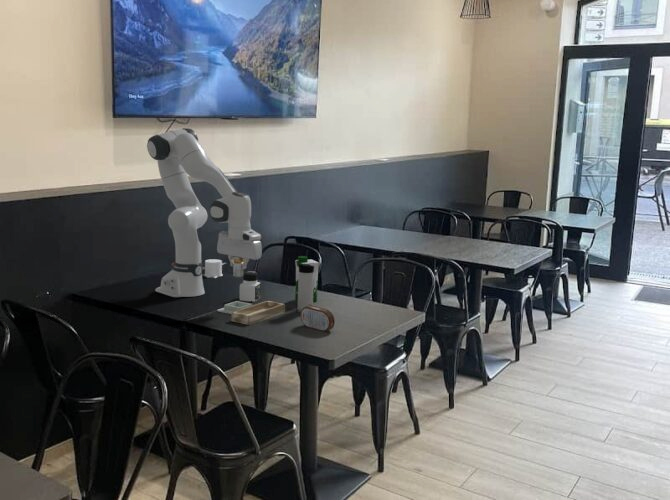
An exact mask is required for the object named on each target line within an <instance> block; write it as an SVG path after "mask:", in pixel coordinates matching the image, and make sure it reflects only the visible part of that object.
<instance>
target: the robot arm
mask: <svg viewBox="0 0 670 500" xmlns="http://www.w3.org/2000/svg"><path fill="white" fill-rule="evenodd" d="M146 148H147V149H146V150H147V151H148V154H149V156H150V157H151V159H153V160H155V161H157V166H158V171H159V175H160V178H161V182H162V184H163V187H164V191H165V194H166V196H167V198H168V199H169V200H171V202H172V203H173V205H174V206H175V209H174V210H173V211H172V212H171V213H170V214H169V215H168V218H167V223H168V226H169V228H170V229H171V230H172V235H173V239H174V244H175V261H174V262H171V263H170V264H171V265H170V266H171V267H172V269H171V270H170V271H168V273H166V274H165V275H164V276H163V277H162V278H161V279H160V280H161V281H160V286H159V287H156V288H155V289H154V290H155V291H154V292H156V293H159V294H163V295H165V296H169V297H172V298H181V297H182V298H183V297H184V298H185V297H187V298H188V297H189V298H190V297H198V296H202V295H204V294H206V292H205V288H204V281H203V274H202V271H203V261H202V244H201V241H200V240H199V237H198V229H199V228H202V227H203V225H205V223H206V222H207V221H208V216H209V217H210V219H211V221H212V222H214V223H219V224H222V223H223V224H224V223H225V224H226V223H227V224H228V229H227V231H226V230H221V231H220V232H219V233H218V239H217V243H216V244H217V246H216V251H217V253H218V254H221V255H224V256H225V255H227V257H228V260H229V262H230V267H232V268H233V265H234V263H233V260H234V256H237V257H242V258H243V260H244V263H243V264H241V268H243V270H245V269H247V265H248V262H249V261H250V260H253V261H254V260H255V261H256V260H259V259H261V257H262V255H263V253H262V252H263V249H262V248H263V247H262V245H263V244H262V242H261V241H260V240H262V234H260V233H259V232H258V231H255V230H254V229H252V227H251V226H252V225H251V217H252V202H251V198H250V195H248V194H247V193H244V192H241V191H240V192H239V191H237V190H236V188H235V187H234V186H233V185H232V183H231V182H230V181H229V179H228V177H227V176H226V175H225V174H224V172H223V171H222V170H221V169H220V168H219V167H218V166H217V165H216V164H215V163H214V162H213V161H212V160H211V158H210V157H209V156H208V154H207V152H206V151H205V150H204V148H203V146H202V145H201V143H200V142H199V138H198V134H197V133H196V132H195V130H193V129H192V128H188V127H187V128H185V127H184V128H181V129H172V130H169V131H166V132H162V133H160V134H154V135H152V136H150V137H149V138H148V140H147V143H146ZM189 177H190V178H192V179H195V180H199V181H202V182H204V183H205V182H206V183H208V184H210V185H212V186H213V187H214V188H215V189H216V190H217V192H218V194H220V196H221V197H222V198H219V199H214V200H212V201H211V202H210V204H209V207H208V211H207V210H206V208H205V207H203V205H202V204H201V202H200V200H199V199H198V197H197V196H196V194H195V192H194V189H193V187H192V185H191V181H190V179H189ZM208 214H209V215H208Z"/></svg>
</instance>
